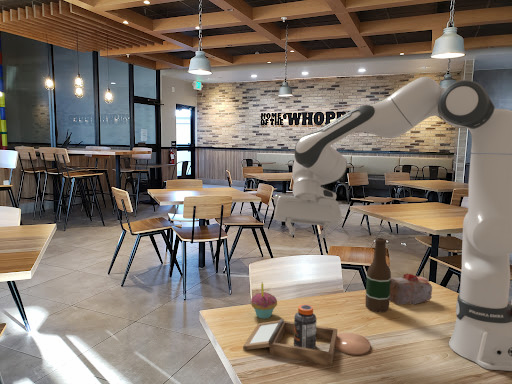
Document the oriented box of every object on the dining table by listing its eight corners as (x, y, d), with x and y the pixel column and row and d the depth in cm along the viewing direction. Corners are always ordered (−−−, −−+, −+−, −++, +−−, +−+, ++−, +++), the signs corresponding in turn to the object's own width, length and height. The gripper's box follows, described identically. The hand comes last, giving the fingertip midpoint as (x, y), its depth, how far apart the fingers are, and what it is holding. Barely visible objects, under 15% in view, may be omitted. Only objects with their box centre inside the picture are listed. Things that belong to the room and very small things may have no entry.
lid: (281, 330, 112) (282, 320, 112) (269, 354, 99) (269, 343, 98) (258, 326, 114) (258, 316, 114) (243, 349, 101) (243, 338, 101)
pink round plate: (370, 339, 108) (370, 335, 108) (369, 357, 98) (369, 353, 98) (334, 333, 111) (334, 330, 110) (330, 350, 101) (330, 347, 101)
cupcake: (272, 323, 117) (273, 285, 115) (246, 318, 119) (246, 282, 118) (279, 311, 125) (280, 276, 123) (255, 307, 127) (255, 273, 126)
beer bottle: (390, 313, 124) (395, 242, 122) (366, 311, 126) (369, 240, 123) (387, 304, 132) (391, 236, 129) (364, 302, 133) (367, 235, 131)
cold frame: (336, 339, 107) (337, 326, 107) (331, 365, 94) (332, 351, 94) (280, 330, 112) (280, 317, 112) (267, 354, 99) (267, 340, 99)
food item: (418, 295, 141) (420, 269, 140) (433, 304, 133) (435, 276, 132) (385, 298, 137) (387, 272, 136) (399, 307, 130) (400, 279, 129)
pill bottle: (292, 341, 106) (293, 302, 105) (313, 340, 106) (314, 302, 105) (295, 352, 100) (296, 311, 99) (317, 352, 100) (319, 311, 99)
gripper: (275, 186, 115) (275, 226, 108) (341, 194, 117) (345, 233, 109) (272, 198, 121) (271, 236, 113) (335, 204, 122) (338, 243, 114)
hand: (308, 235), depth 111 cm, fingers open, 8 cm apart
